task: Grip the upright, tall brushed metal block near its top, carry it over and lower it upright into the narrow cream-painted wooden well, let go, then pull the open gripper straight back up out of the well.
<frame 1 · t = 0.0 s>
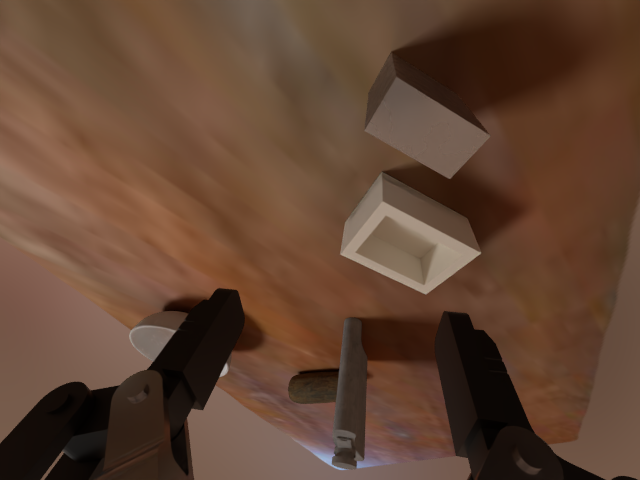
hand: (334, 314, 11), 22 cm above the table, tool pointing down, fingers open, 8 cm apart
hip flask: (354, 339, 55), on the table
narrow well: (403, 220, 34), on the table
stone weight: (322, 372, 68), on the table
serving bowl: (196, 325, 62), on the table
tall brushed metal block: (412, 93, 25), on the table
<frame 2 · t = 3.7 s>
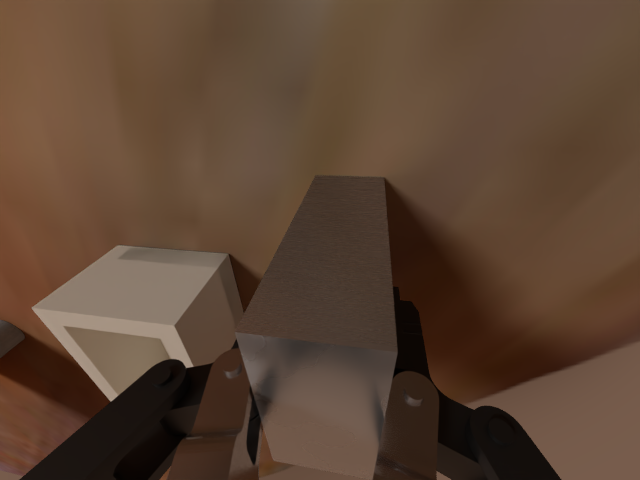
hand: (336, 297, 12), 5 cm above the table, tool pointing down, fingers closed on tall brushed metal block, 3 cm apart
narrow well: (195, 310, 22), on the table
tall brushed metal block: (347, 234, 16), on the table, touching gripper
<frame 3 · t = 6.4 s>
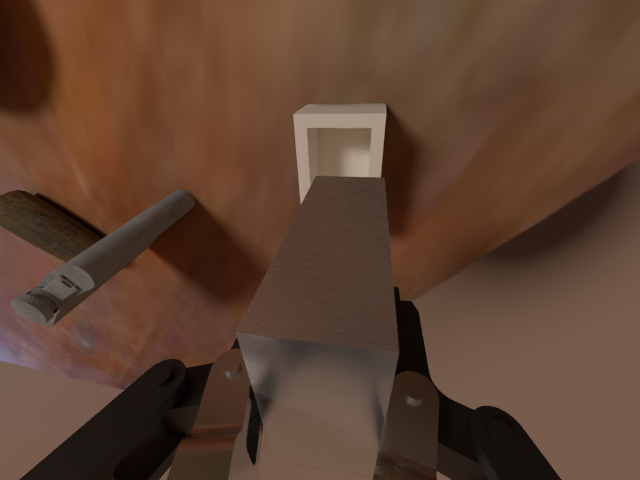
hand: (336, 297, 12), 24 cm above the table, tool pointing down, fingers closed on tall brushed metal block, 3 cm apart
hip flask: (162, 216, 44), on the table
narrow well: (345, 158, 33), on the table
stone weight: (72, 220, 48), on the table
tall brushed metal block: (347, 234, 16), point 19 cm above the table, touching gripper
when the fingers open (8 cm above the table, at t = 9.4 s): tall brushed metal block drops 1 cm, resting on narrow well.
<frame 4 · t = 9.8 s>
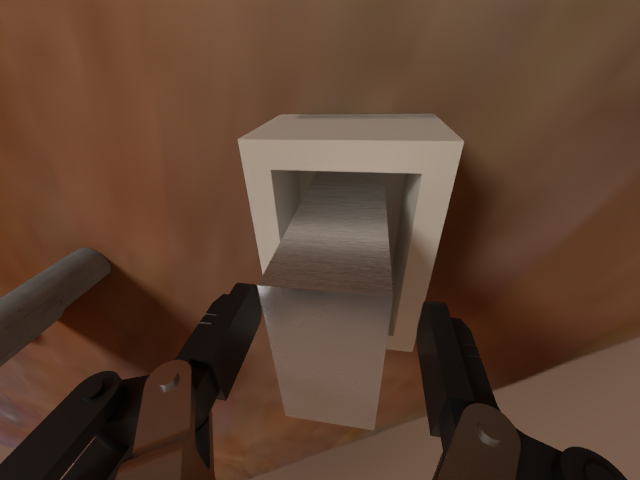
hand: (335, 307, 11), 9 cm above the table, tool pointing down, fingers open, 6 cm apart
hip flask: (67, 282, 29), on the table
narrow well: (350, 210, 18), on the table
tall brushed metal block: (349, 221, 17), point 1 cm above the table, touching narrow well
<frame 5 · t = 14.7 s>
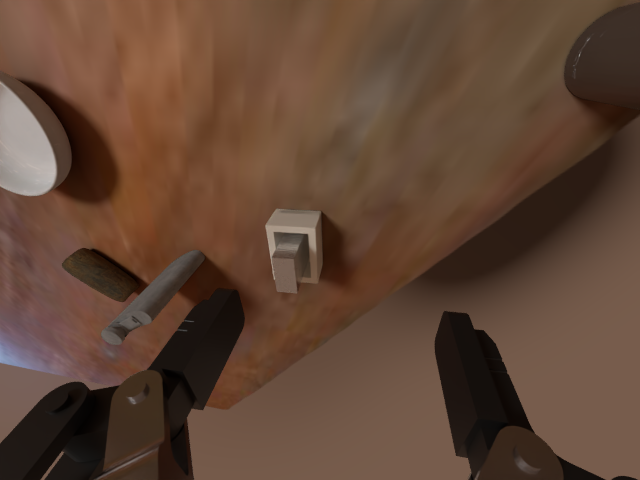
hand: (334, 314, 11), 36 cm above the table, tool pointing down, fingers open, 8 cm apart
hip flask: (181, 265, 63), on the table
narrow well: (300, 237, 53), on the table
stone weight: (114, 267, 68), on the table
serving bowl: (36, 127, 50), on the table
tall brushed metal block: (299, 241, 52), point 1 cm above the table, touching narrow well
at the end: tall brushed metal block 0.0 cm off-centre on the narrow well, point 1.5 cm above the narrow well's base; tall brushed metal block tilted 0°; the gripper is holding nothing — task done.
